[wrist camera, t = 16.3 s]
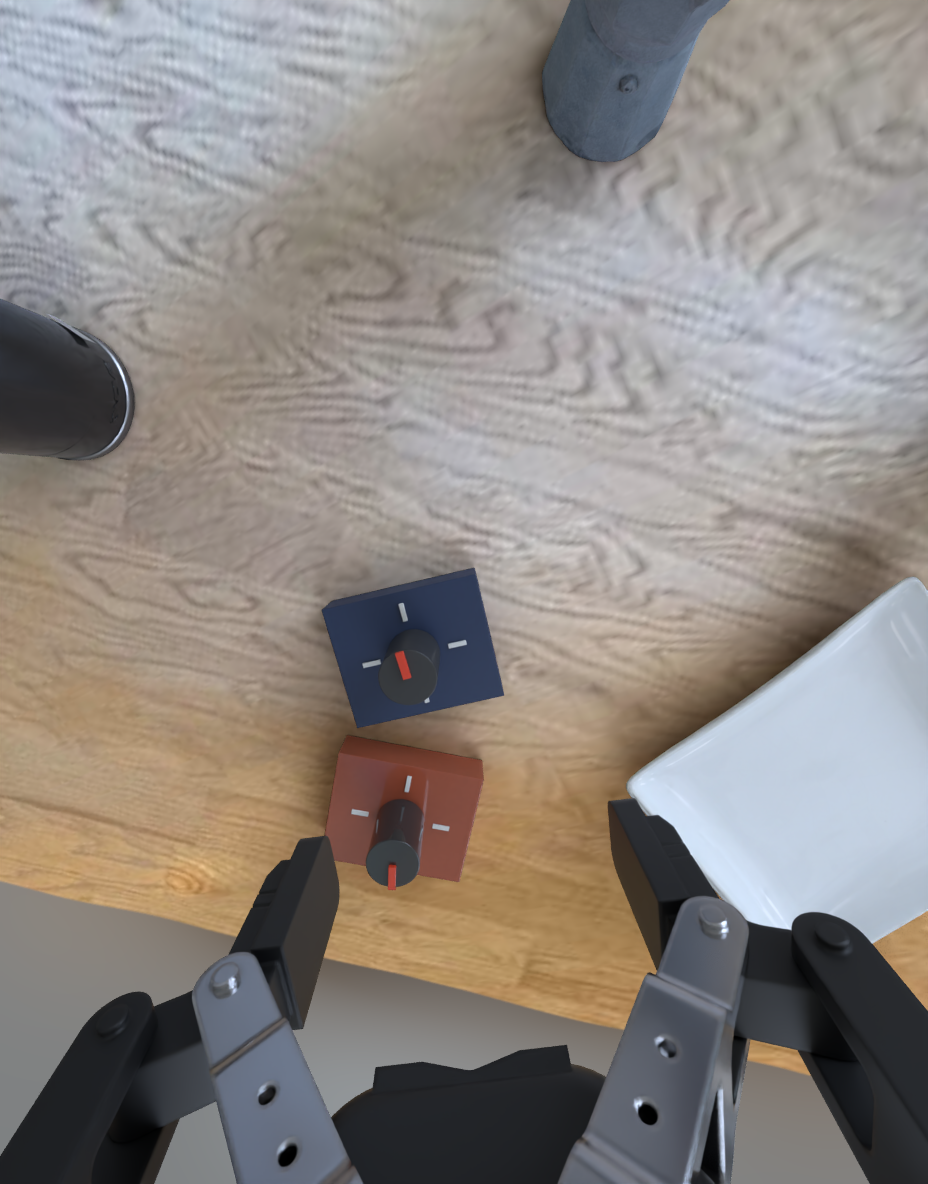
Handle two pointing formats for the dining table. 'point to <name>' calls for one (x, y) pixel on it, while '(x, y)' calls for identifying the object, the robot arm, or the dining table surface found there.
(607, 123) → the moka pot
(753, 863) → the square plate
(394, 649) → the black rotary knob
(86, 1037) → the robot arm
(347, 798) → the dial base block
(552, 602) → the dining table surface
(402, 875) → the dark grey dial knob
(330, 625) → the navy flat block
